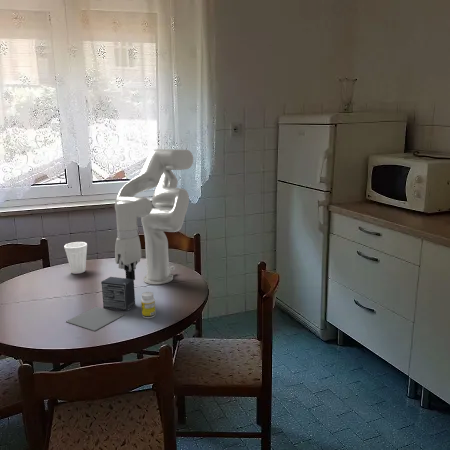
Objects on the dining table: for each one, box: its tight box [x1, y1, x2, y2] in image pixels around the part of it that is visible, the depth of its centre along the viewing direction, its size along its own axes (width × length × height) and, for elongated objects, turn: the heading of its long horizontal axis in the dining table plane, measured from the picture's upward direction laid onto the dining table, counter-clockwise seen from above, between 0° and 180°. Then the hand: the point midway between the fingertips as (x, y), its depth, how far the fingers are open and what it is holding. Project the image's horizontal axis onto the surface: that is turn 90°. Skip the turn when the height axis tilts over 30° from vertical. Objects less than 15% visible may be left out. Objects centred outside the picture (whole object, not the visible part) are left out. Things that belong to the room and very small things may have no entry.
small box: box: [100, 276, 136, 312], centre depth 164 cm, size 11×6×10 cm, turn 71°
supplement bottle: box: [140, 291, 156, 319], centre depth 156 cm, size 5×5×8 cm
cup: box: [63, 241, 88, 274], centre depth 202 cm, size 10×10×13 cm
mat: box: [65, 306, 125, 332], centre depth 156 cm, size 14×14×1 cm
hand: (130, 279), depth 169 cm, fingers closed
